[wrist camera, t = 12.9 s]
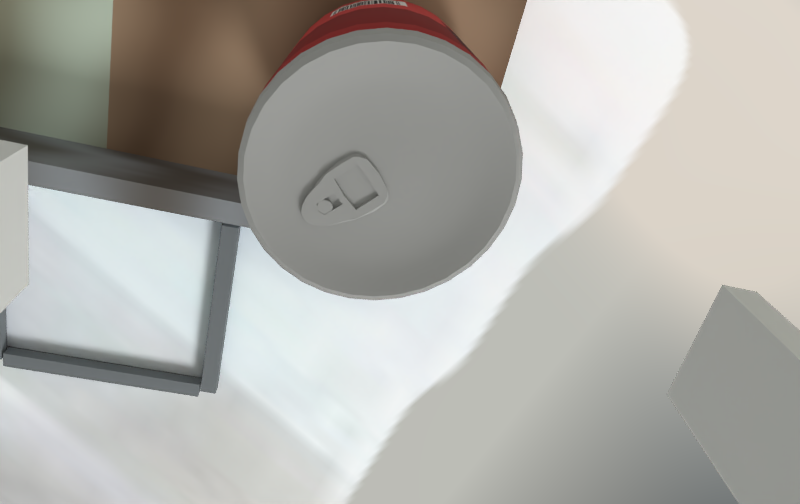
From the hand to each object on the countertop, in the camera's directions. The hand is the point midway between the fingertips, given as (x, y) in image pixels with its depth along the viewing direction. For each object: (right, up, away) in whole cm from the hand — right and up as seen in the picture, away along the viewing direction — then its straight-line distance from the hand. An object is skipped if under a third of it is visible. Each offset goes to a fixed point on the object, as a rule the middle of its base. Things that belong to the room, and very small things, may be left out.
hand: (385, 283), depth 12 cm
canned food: (-1, +7, +15) cm, 17 cm away
